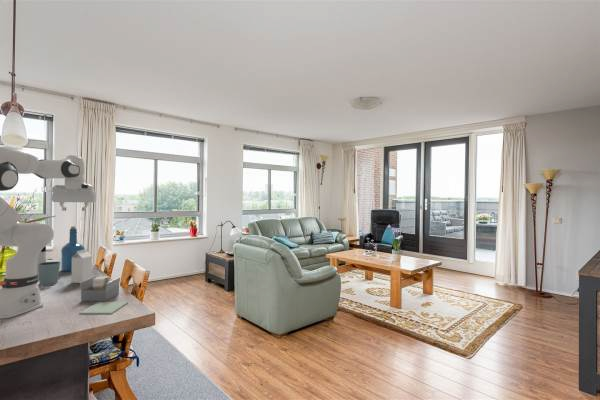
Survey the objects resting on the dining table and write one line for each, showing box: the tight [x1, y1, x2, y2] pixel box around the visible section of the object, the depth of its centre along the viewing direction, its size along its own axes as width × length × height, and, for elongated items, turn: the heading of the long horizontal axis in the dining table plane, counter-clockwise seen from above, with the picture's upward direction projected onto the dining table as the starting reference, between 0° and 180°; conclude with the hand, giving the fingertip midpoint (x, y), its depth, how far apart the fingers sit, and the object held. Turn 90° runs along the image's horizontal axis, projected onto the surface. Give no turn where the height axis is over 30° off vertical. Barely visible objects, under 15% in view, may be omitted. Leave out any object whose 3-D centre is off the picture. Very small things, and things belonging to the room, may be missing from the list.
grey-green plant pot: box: [38, 261, 61, 287], centre depth 186 cm, size 10×10×12 cm
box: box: [93, 276, 110, 291], centre depth 162 cm, size 5×5×10 cm
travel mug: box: [37, 245, 47, 280], centre depth 196 cm, size 6×7×20 cm
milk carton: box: [71, 249, 93, 284], centre depth 190 cm, size 7×7×19 cm
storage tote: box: [79, 276, 121, 302], centre depth 162 cm, size 12×13×9 cm
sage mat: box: [79, 301, 129, 315], centre depth 147 cm, size 14×14×1 cm
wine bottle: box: [60, 225, 85, 273], centre depth 219 cm, size 14×13×30 cm
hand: (74, 210), depth 175 cm, fingers open, 8 cm apart
